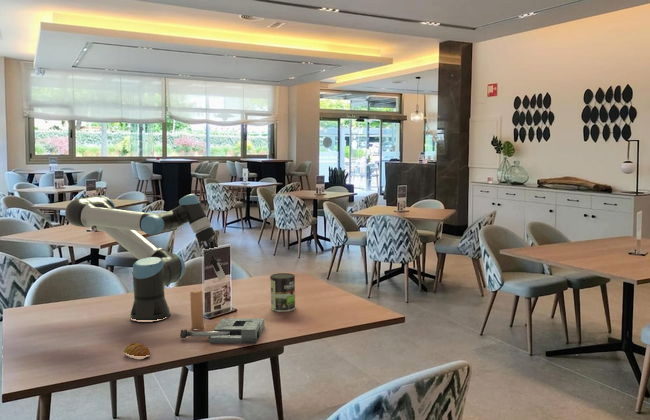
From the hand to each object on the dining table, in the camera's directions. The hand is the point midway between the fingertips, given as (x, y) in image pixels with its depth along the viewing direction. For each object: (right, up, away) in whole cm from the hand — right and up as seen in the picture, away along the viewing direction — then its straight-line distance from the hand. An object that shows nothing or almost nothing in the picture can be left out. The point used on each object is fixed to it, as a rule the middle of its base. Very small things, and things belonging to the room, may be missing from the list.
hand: (226, 276), depth 231 cm
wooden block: (-8, -17, -18) cm, 26 cm away
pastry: (-21, -21, -44) cm, 54 cm away
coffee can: (+23, -14, +7) cm, 28 cm away
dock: (+9, -18, -25) cm, 32 cm away
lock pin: (-2, -18, -30) cm, 35 cm away
